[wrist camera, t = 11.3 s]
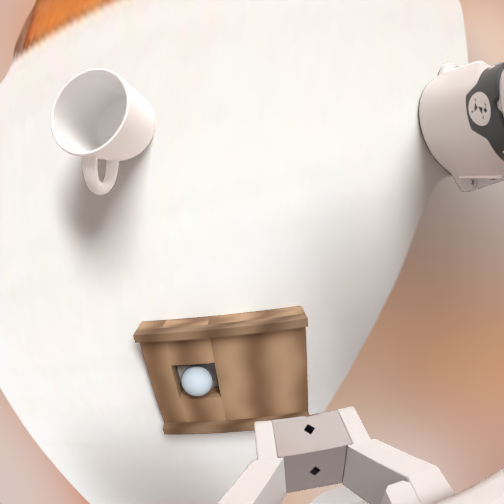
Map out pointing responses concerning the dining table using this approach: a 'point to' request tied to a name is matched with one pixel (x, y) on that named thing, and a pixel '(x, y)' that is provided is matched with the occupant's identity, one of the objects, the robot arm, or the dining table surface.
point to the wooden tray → (229, 369)
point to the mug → (101, 123)
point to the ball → (196, 381)
